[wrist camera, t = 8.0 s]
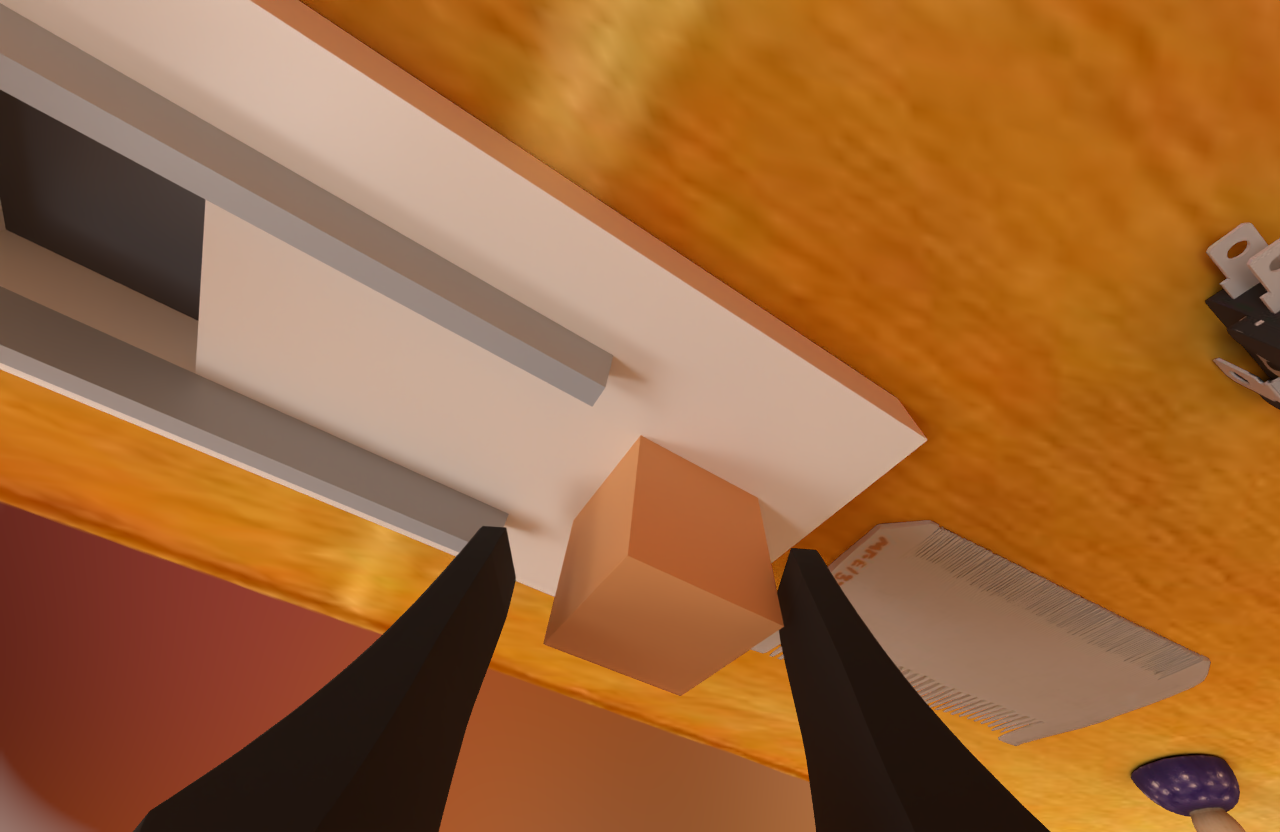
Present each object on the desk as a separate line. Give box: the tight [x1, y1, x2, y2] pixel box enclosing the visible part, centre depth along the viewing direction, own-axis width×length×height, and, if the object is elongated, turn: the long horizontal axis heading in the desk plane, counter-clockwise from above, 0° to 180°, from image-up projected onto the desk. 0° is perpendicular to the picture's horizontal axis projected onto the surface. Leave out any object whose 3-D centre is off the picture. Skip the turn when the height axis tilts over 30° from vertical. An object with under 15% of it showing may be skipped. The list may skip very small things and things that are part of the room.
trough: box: [0, 0, 927, 597], centre depth 12 cm, size 24×12×4 cm, turn 58°
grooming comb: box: [751, 520, 1211, 746], centre depth 21 cm, size 18×10×1 cm, turn 62°
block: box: [544, 435, 784, 696], centre depth 12 cm, size 4×4×4 cm
